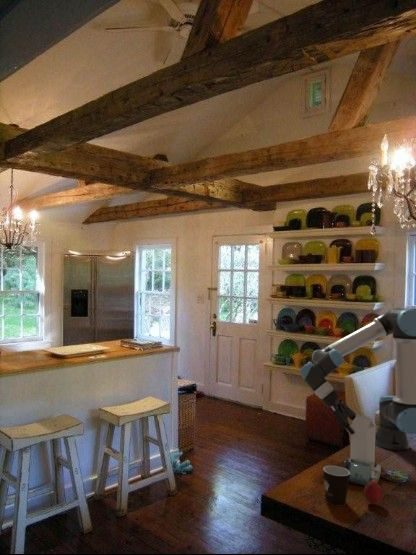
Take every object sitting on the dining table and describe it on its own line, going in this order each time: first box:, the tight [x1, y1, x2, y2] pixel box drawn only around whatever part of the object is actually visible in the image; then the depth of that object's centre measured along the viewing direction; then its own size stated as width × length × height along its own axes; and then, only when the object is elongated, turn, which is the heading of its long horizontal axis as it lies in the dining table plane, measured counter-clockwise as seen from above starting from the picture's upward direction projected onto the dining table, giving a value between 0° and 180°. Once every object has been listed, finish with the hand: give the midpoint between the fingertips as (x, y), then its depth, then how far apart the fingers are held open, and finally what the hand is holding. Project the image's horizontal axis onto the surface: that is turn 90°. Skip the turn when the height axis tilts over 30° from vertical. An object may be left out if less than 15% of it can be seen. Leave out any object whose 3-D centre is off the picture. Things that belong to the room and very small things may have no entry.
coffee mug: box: [322, 465, 350, 506], centre depth 148 cm, size 12×9×10 cm
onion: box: [363, 480, 384, 505], centre depth 145 cm, size 6×6×8 cm
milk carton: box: [349, 413, 376, 463], centre depth 185 cm, size 7×7×19 cm
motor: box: [342, 458, 382, 486], centre depth 167 cm, size 19×12×8 cm, turn 152°
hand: (362, 436), depth 184 cm, fingers open, 13 cm apart
